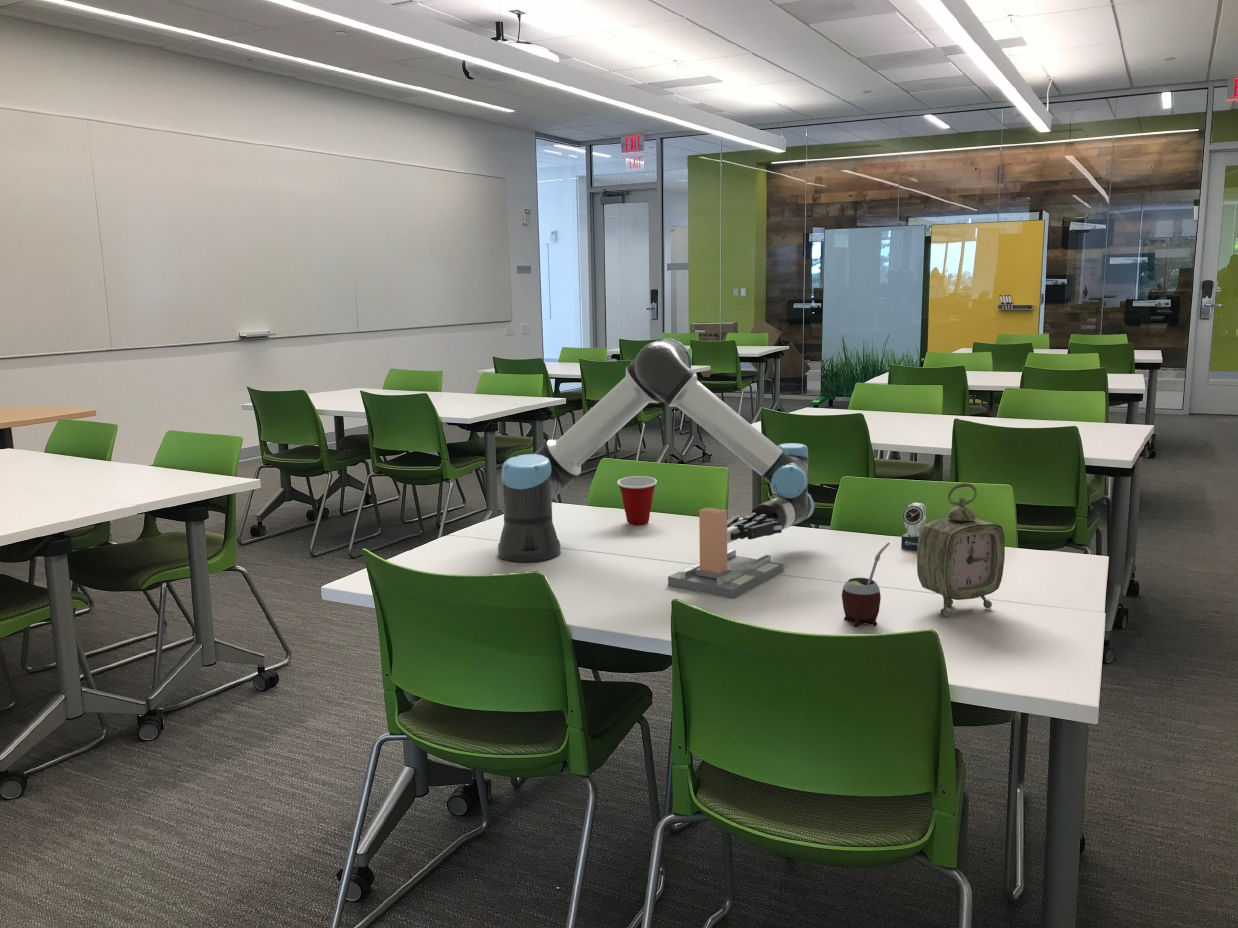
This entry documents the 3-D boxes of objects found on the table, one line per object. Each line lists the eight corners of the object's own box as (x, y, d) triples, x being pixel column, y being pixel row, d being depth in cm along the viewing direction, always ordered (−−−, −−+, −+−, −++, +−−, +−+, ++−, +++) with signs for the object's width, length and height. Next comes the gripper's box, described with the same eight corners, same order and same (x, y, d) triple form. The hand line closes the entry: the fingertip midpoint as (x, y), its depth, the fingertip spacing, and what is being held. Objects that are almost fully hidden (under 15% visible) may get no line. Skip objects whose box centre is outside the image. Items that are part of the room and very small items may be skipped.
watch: (898, 550, 226) (900, 505, 224) (909, 542, 233) (910, 499, 231) (922, 553, 223) (923, 508, 221) (932, 546, 230) (934, 501, 228)
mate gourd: (836, 624, 178) (837, 547, 175) (849, 612, 184) (851, 537, 182) (875, 631, 174) (878, 552, 171) (888, 618, 180) (890, 542, 178)
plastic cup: (614, 527, 254) (613, 483, 251) (621, 518, 264) (620, 475, 262) (655, 528, 252) (654, 484, 250) (660, 518, 262) (659, 476, 260)
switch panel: (668, 585, 203) (667, 569, 203) (721, 561, 220) (721, 546, 220) (732, 598, 194) (732, 582, 193) (783, 572, 211) (783, 557, 210)
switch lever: (695, 574, 203) (695, 510, 200) (705, 570, 206) (705, 506, 203) (721, 579, 199) (721, 513, 196) (731, 575, 202) (731, 510, 199)
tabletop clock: (943, 621, 178) (948, 491, 174) (910, 607, 186) (915, 482, 182) (1001, 609, 184) (1008, 483, 179) (967, 596, 192) (973, 475, 188)
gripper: (797, 536, 217) (746, 560, 199) (747, 528, 225) (693, 551, 207) (797, 504, 216) (746, 525, 197) (747, 497, 224) (693, 517, 205)
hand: (719, 538), depth 202 cm, fingers closed
